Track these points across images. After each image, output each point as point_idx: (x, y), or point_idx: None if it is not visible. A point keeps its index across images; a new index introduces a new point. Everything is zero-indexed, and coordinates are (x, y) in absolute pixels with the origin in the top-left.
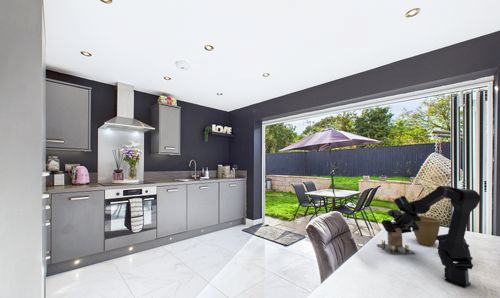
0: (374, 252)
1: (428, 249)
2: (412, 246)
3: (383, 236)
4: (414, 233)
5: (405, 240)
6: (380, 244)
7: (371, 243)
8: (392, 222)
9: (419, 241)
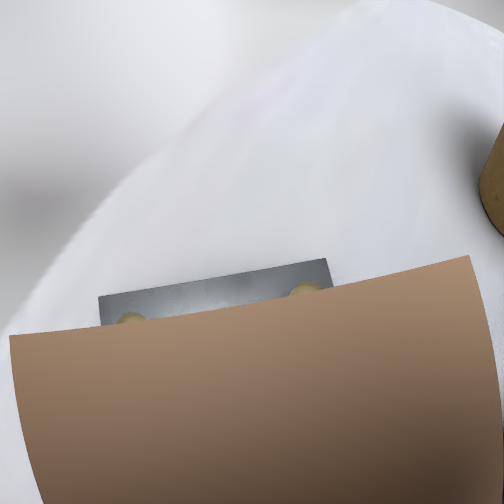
0: (23, 460)
1: (498, 300)
2: (434, 256)
3: (301, 67)
4: (501, 141)
5: (423, 135)
6: (132, 299)
7: (91, 234)
8: (276, 477)
9: (493, 200)
